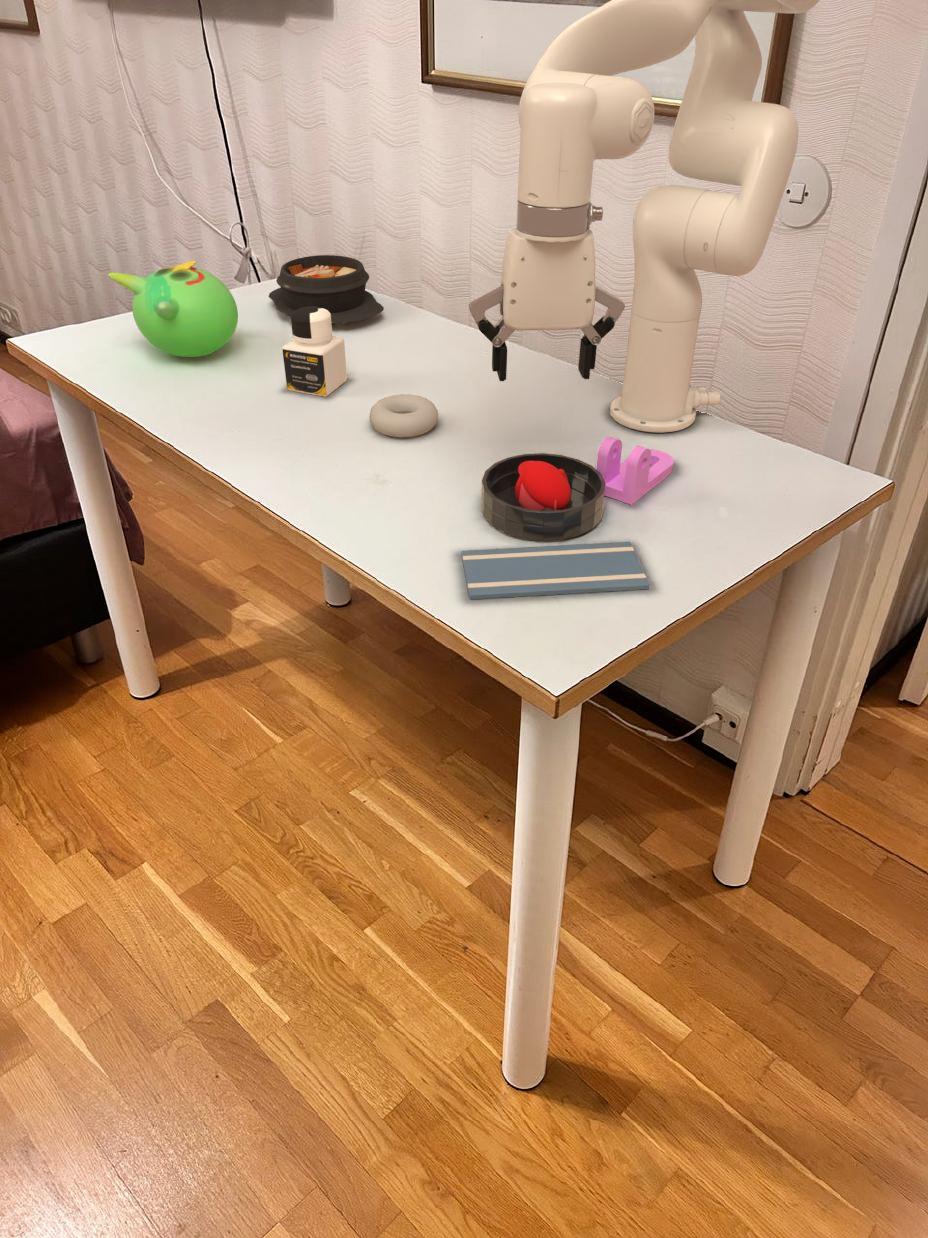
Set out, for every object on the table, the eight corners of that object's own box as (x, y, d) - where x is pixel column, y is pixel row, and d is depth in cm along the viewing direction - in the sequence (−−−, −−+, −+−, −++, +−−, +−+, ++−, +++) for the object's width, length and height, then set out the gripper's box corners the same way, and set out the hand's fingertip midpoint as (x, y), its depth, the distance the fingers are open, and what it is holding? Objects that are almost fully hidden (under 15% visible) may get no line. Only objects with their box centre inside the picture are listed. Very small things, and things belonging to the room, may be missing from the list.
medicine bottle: (286, 390, 147) (277, 314, 140) (309, 374, 152) (301, 300, 145) (326, 397, 145) (319, 321, 137) (348, 380, 150) (342, 305, 143)
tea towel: (629, 545, 111) (629, 540, 110) (648, 589, 104) (649, 584, 103) (461, 554, 109) (461, 549, 109) (469, 599, 102) (469, 594, 102)
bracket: (631, 504, 118) (638, 455, 114) (594, 491, 121) (598, 442, 117) (679, 466, 127) (686, 418, 123) (643, 454, 129) (649, 407, 125)
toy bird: (262, 352, 160) (250, 263, 151) (179, 381, 150) (161, 288, 141) (199, 327, 169) (184, 243, 160) (116, 353, 159) (96, 265, 150)
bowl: (588, 479, 124) (591, 450, 121) (614, 539, 112) (617, 509, 109) (475, 484, 123) (476, 455, 120) (489, 546, 111) (490, 515, 108)
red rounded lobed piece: (582, 510, 117) (585, 467, 113) (551, 528, 113) (554, 484, 110) (533, 488, 121) (535, 446, 117) (502, 505, 118) (503, 462, 114)
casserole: (246, 307, 178) (240, 262, 173) (324, 285, 188) (320, 242, 183) (327, 341, 163) (323, 293, 158) (407, 316, 174) (405, 269, 169)
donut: (362, 439, 134) (430, 444, 132) (359, 416, 132) (429, 421, 130) (380, 409, 141) (445, 414, 140) (379, 388, 139) (444, 392, 138)
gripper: (625, 209, 102) (609, 362, 112) (467, 211, 100) (465, 365, 111) (642, 227, 96) (623, 386, 106) (474, 229, 94) (471, 390, 104)
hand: (542, 375), depth 108 cm, fingers open, 9 cm apart
